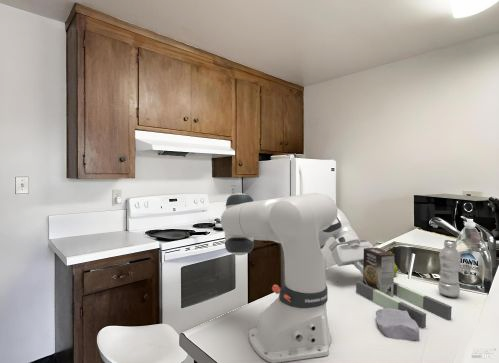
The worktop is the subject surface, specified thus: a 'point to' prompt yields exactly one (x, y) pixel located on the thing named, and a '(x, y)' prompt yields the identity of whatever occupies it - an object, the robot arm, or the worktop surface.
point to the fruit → (394, 266)
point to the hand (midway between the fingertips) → (365, 272)
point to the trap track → (408, 295)
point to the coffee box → (379, 270)
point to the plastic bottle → (449, 269)
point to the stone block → (397, 324)
